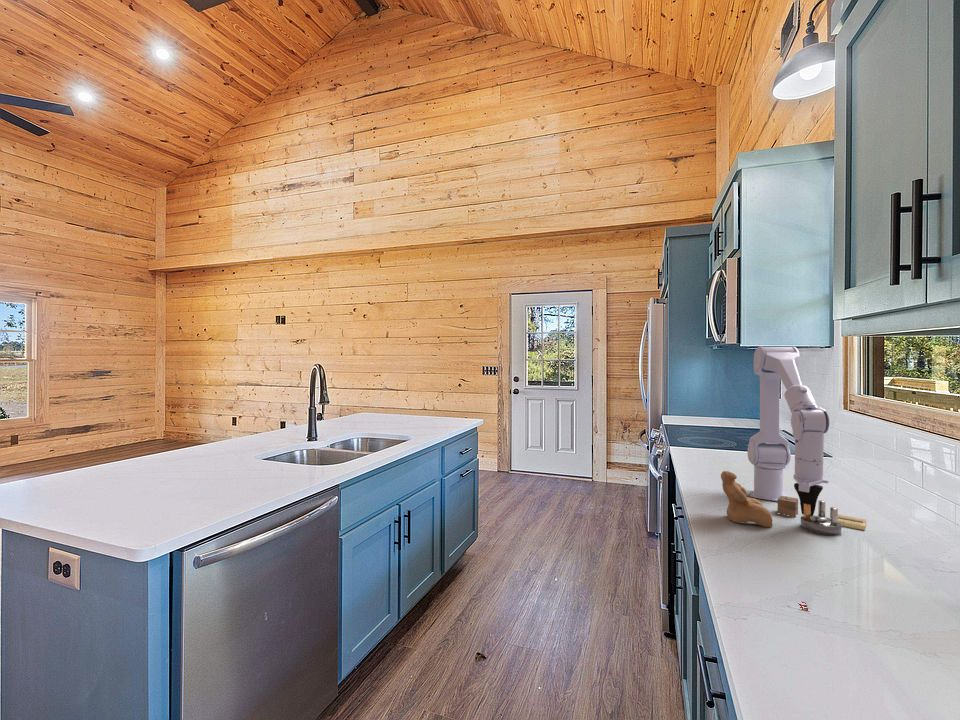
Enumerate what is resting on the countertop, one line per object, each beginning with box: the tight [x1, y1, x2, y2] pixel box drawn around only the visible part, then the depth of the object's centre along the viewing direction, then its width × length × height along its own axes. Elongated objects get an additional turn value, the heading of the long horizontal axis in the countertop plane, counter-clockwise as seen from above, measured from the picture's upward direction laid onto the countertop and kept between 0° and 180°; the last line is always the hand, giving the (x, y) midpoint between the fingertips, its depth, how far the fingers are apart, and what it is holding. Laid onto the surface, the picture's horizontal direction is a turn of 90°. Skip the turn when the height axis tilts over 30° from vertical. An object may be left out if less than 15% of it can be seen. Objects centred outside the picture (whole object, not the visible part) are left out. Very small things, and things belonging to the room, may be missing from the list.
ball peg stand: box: [800, 499, 843, 537], centre depth 117 cm, size 8×8×6 cm
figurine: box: [720, 470, 774, 528], centre depth 123 cm, size 11×9×15 cm
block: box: [776, 496, 799, 518], centre depth 129 cm, size 4×4×4 cm
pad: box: [838, 514, 867, 531], centre depth 121 cm, size 6×6×1 cm
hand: (807, 514), depth 119 cm, fingers closed
